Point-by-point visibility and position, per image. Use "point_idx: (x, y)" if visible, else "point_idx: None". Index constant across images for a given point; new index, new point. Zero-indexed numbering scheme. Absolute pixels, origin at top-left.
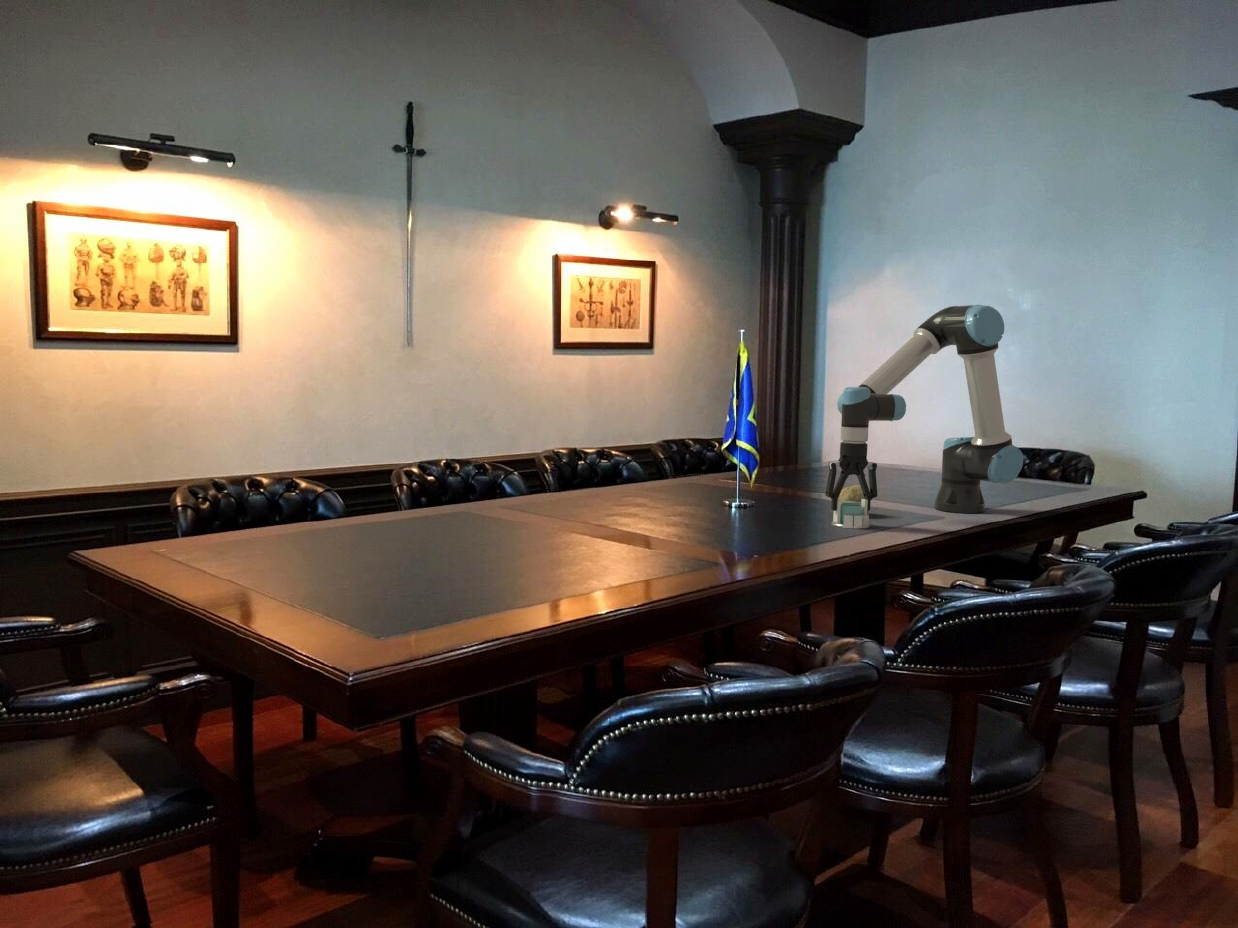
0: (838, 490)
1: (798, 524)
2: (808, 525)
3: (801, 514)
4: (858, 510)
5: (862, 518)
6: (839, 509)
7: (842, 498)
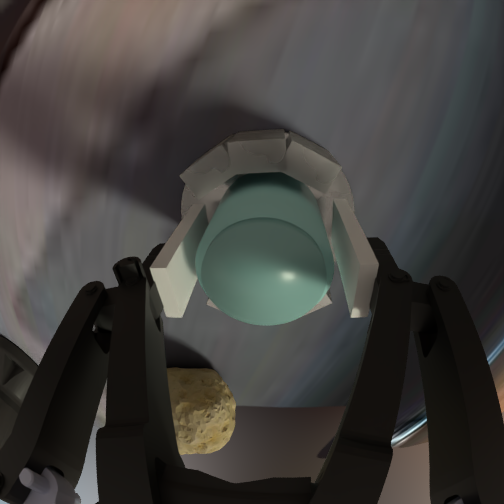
0: (400, 318)
1: (461, 244)
2: (443, 222)
3: (346, 386)
4: (234, 201)
5: (227, 145)
6: (351, 231)
7: (229, 417)
